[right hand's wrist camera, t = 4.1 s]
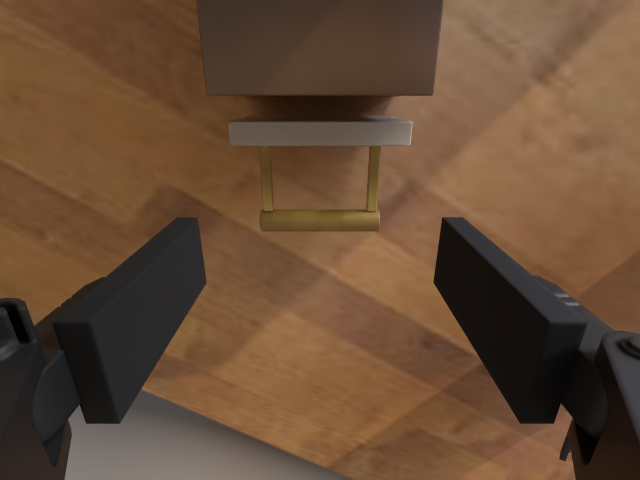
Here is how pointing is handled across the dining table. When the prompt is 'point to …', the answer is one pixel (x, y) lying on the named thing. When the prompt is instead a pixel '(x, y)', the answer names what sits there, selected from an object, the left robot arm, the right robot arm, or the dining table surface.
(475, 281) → the right robot arm
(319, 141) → the drawer
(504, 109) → the dining table surface
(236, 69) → the cabinet
